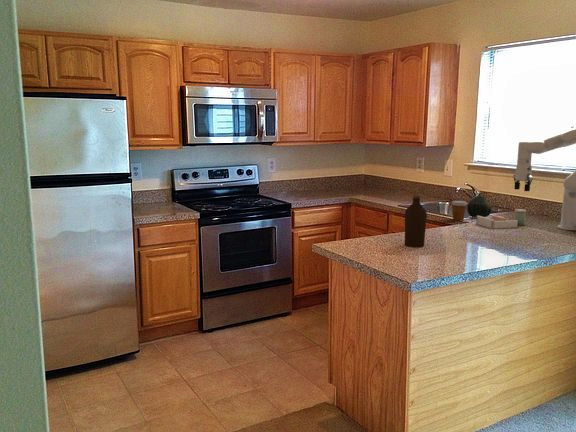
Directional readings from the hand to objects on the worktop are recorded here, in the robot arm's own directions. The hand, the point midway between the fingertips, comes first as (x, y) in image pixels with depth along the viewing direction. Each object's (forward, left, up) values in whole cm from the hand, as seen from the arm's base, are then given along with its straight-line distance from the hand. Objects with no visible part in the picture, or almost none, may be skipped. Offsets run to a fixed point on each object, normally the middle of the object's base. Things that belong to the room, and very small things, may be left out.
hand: (521, 190), depth 309 cm
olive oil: (-40, +91, -21) cm, 102 cm away
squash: (+28, +9, -21) cm, 36 cm away
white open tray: (-2, +17, -21) cm, 27 cm away
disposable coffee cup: (+20, +29, -21) cm, 41 cm away
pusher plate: (-2, +16, -21) cm, 26 cm away
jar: (-2, +1, -21) cm, 21 cm away
